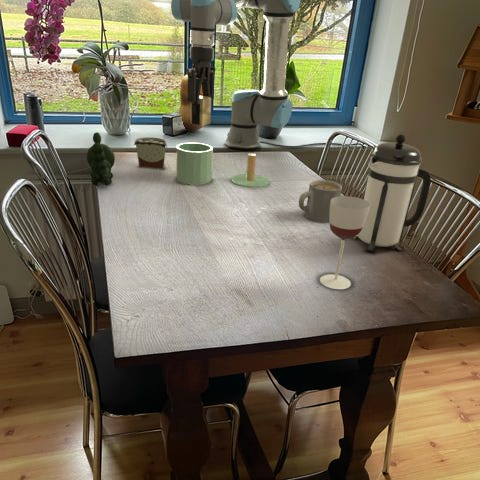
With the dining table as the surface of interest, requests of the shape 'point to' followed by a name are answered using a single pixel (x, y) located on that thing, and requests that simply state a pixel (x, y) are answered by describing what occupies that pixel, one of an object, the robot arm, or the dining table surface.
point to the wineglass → (345, 231)
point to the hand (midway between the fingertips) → (200, 122)
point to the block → (203, 110)
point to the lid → (250, 175)
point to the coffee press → (392, 193)
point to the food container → (151, 152)
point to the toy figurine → (100, 161)
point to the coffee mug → (319, 199)
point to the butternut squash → (187, 106)
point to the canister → (194, 163)
